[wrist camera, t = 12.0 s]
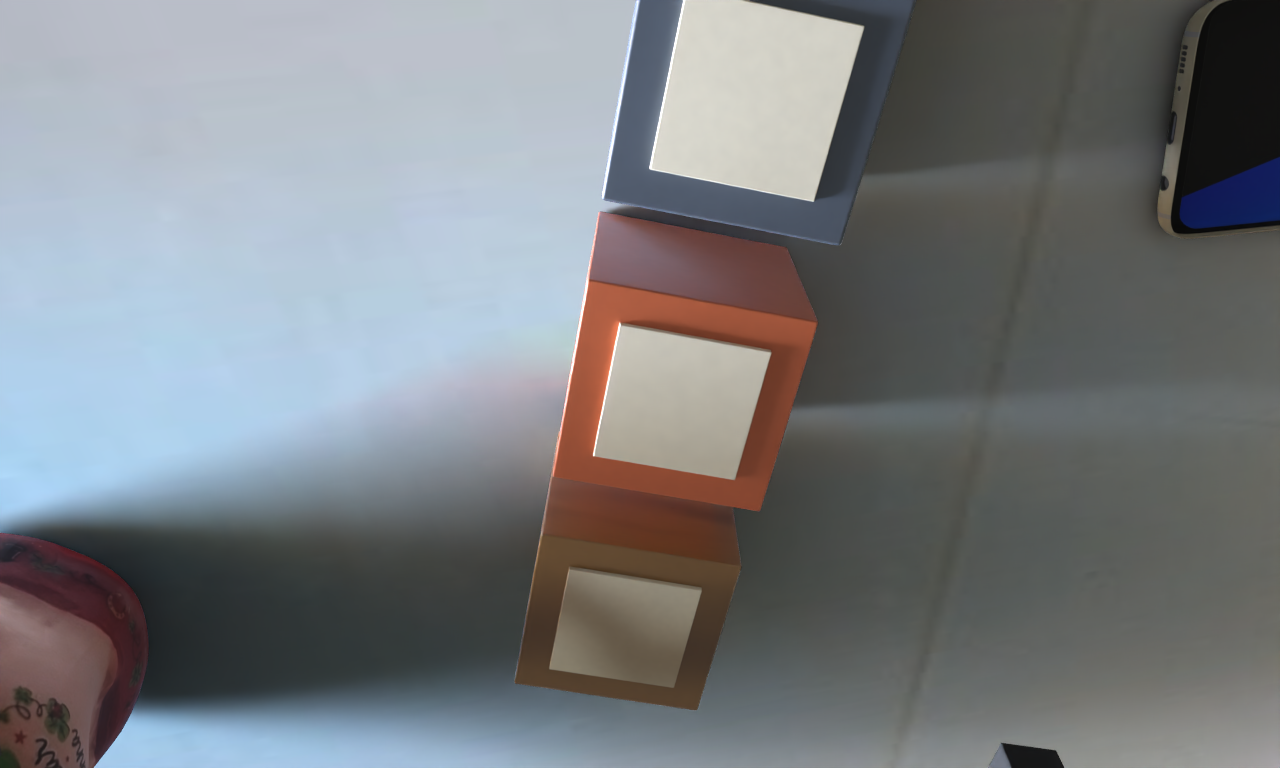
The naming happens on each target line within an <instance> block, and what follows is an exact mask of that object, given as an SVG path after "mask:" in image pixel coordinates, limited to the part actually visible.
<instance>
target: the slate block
mask: <svg viewBox="0 0 1280 768" xmlns="http://www.w3.org/2000/svg"><path fill="white" fill-rule="evenodd" d="M915 4H916V0H636V3H635V9H634V14H633V20H632V25H631V31H630V36H629V42H628V48H627V53H626V59H625V64H624V70H623V75H622V81H621V87H620V92H619V98H618V103H617V109H616V114H615V120H614V126H613V131H612V137H611V142H610V148H609V154H608V160H607V166H606V172H605V178H604V184H603V190H602V199H603V200H606V201H611V202H616V203H621V204H626V205H631V206H636V207H642V208H647V209H652V210H657V211H662V212H667V213H672V214H678V215H683V216H688V217H693V218H698V219H703V220H709V221H714V222H719V223H724V224H729V225H734V226H739V227H745V228H750V229H755V230H760V231H765V232H770V233H775V234H781V235H786V236H791V237H796V238H801V239H806V240H812V241H817V242H822V243H827V244H832V245H840V244H841V243H842V240H843V237H844V233H845V230H846V227H847V224H848V220H849V217H850V214H851V211H852V207H853V204H854V201H855V198H856V195H857V191H858V188H859V185H860V182H861V178H862V175H863V172H864V169H865V165H866V162H867V159H868V156H869V152H870V149H871V146H872V143H873V140H874V136H875V133H876V130H877V127H878V123H879V120H880V117H881V114H882V110H883V107H884V104H885V101H886V97H887V94H888V91H889V88H890V85H891V81H892V78H893V75H894V72H895V68H896V65H897V62H898V59H899V55H900V52H901V49H902V46H903V42H904V39H905V36H906V33H907V30H908V26H909V23H910V20H911V17H912V13H913V10H914V7H915Z"/></svg>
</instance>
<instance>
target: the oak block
mask: <svg viewBox="0 0 1280 768" xmlns="http://www.w3.org/2000/svg"><path fill="white" fill-rule="evenodd" d="M559 434H560V431H559V433H558V438H557V443H556V449H555V454H554V460H553V465H552V471H551V477H550V482H549V488H548V493H547V499H546V504H545V510H544V516H543V521H542V527H541V532H540V538H539V543H538V549H537V555H536V560H535V566H534V571H533V577H532V583H531V589H530V594H529V600H528V606H527V611H526V617H525V623H524V628H523V634H522V640H521V646H520V651H519V657H518V663H517V668H516V674H515V680H514V682H515V683H516V684H521V685H528V686H535V687H541V688H548V689H555V690H561V691H568V692H575V693H582V694H588V695H595V696H602V697H608V698H615V699H622V700H628V701H635V702H642V703H648V704H655V705H662V706H669V707H675V708H682V709H689V710H695V711H696V710H697V709H698V707H699V703H700V700H701V697H702V694H703V690H704V687H705V684H706V681H707V677H708V674H709V671H710V668H711V665H712V661H713V658H714V655H715V652H716V648H717V645H718V642H719V639H720V635H721V632H722V629H723V626H724V622H725V619H726V616H727V613H728V610H729V606H730V603H731V600H732V597H733V593H734V590H735V587H736V584H737V580H738V577H739V574H740V571H741V568H742V566H741V559H740V552H739V545H738V538H737V531H736V524H735V517H734V511H733V507H730V506H724V505H718V504H712V503H706V502H700V501H694V500H688V499H682V498H676V497H670V496H664V495H658V494H652V493H646V492H640V491H634V490H628V489H622V488H616V487H610V486H604V485H598V484H592V483H586V482H580V481H574V480H569V479H563V478H557V477H553V469H554V464H555V458H556V452H557V446H558V440H559Z"/></svg>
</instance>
